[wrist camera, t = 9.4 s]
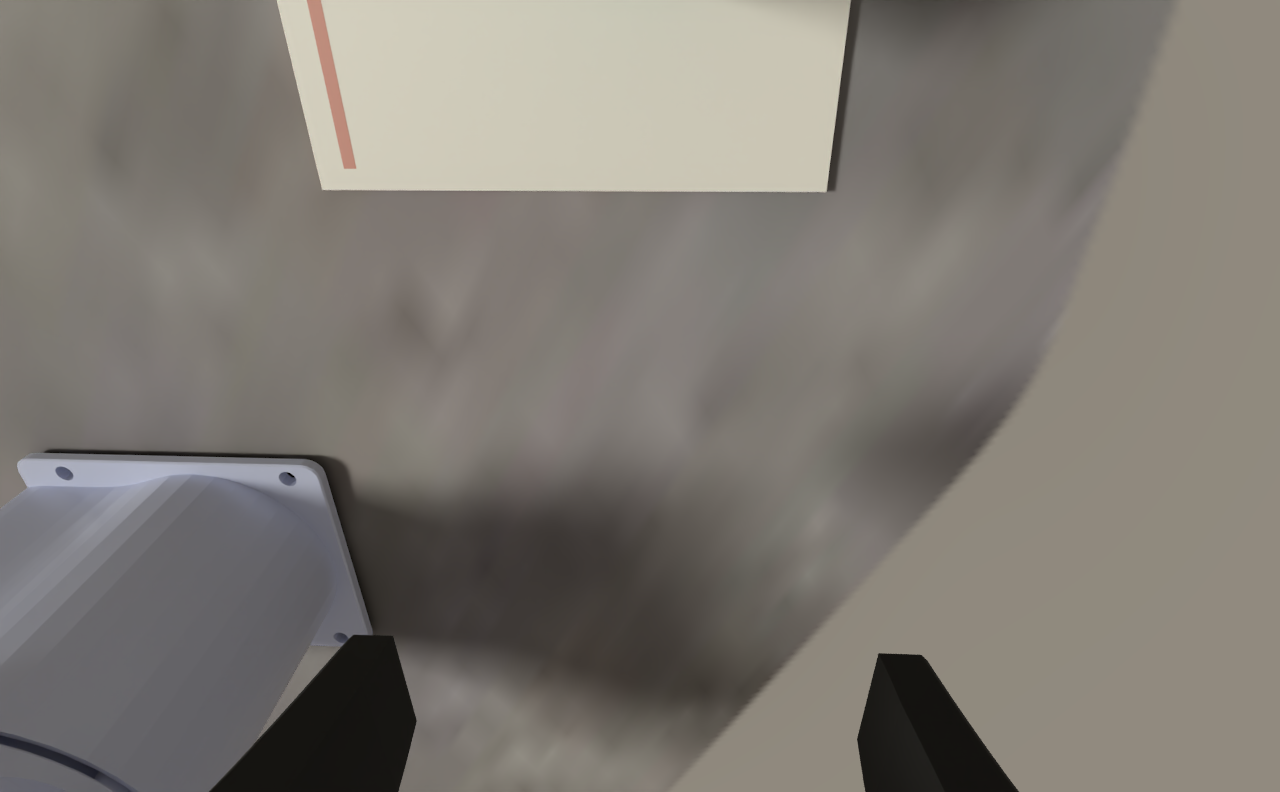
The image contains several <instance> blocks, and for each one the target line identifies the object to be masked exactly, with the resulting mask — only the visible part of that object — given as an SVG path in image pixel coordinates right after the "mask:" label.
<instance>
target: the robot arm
mask: <svg viewBox="0 0 1280 792" xmlns="http://www.w3.org/2000/svg"><path fill="white" fill-rule="evenodd" d="M17 468H18V471H19V473H20V475H21V477H22V478H23V480H24V482H25V484H26V485H27V487H28V488H26V489H25V490H24V491H22V492H21V493H20V494H19V495H17V496H16V497H15V498H13V499H12V500H11V501H9V502H8V503H7V504H5V505H4V506H3V507H2V508H0V792H398V791H399V787H400V783H401V780H402V776H403V772H404V769H405V765H406V761H407V757H408V753H409V749H410V745H411V741H412V737H413V733H414V729H415V725H416V721H417V720H416V717H415V713H414V710H413V706H412V703H411V699H410V695H409V692H408V688H407V685H406V681H405V677H404V674H403V670H402V667H401V663H400V660H399V656H398V652H397V649H396V645H395V642H394V638H393V636H378V635H373V631H372V627H371V624H370V621H369V617H368V614H367V611H366V607H365V604H364V601H363V597H362V594H361V590H360V587H359V584H358V580H357V577H356V574H355V570H354V567H353V564H352V560H351V557H350V554H349V550H348V547H347V544H346V540H345V537H344V534H343V530H342V527H341V524H340V520H339V517H338V514H337V510H336V507H335V504H334V500H333V497H332V494H331V490H330V487H329V484H328V480H327V477H326V474H325V471H324V470H323V468H322V467H321V466H320V465H319V464H318V463H316V462H314V461H312V460H307V459H279V458H236V457H194V456H151V455H108V454H65V453H30V454H28V455H27V456H25V457H24V458H23V459H21V460H20V461H19V462H18V465H17ZM286 472H288V473H291V474H292V475H294V476H295V478H293V477H291V476H289V475H288V474H287V473H286ZM310 645H316V646H342V647H341V648H340V649H339V650H338V651H337V652H336V653H335V655H334V656H333V657H332V658H331V659H330V660H329V661H328V663H327V664H326V665H325V666H324V667H323V668H322V669H321V670H320V672H319V673H318V674H317V675H316V676H315V677H314V678H313V680H312V681H311V682H310V683H309V684H308V685H307V686H306V687H305V689H304V690H303V691H302V692H301V693H300V694H299V695H298V696H297V698H296V699H295V700H294V701H293V702H292V703H291V704H290V705H289V706H288V708H287V709H286V710H285V711H284V712H283V713H282V714H281V715H280V716H279V718H278V719H277V720H276V721H275V722H274V723H273V724H272V725H271V726H270V727H269V728H268V730H267V731H266V732H265V733H264V734H263V735H262V736H261V737H260V738H259V739H258V740H257V738H258V736H259V734H260V733H261V731H262V729H263V727H264V725H265V724H266V722H267V720H268V718H269V717H270V715H271V713H272V711H273V709H274V708H275V706H276V704H277V702H278V701H279V699H280V697H281V695H282V694H283V692H284V690H285V688H286V686H287V685H288V683H289V681H290V679H291V678H292V676H293V674H294V672H295V670H296V669H297V667H298V665H299V663H300V662H301V660H302V658H303V656H304V654H305V653H306V651H307V649H308V647H309V646H310ZM256 740H257V741H256ZM255 741H256V742H255ZM857 741H858V748H859V754H860V761H861V767H862V773H863V780H864V786H865V791H866V792H1019V791H1018V790H1017V789H1016V787H1015V786H1014V785H1013V783H1012V782H1011V781H1010V779H1009V778H1008V777H1007V775H1006V774H1005V773H1004V771H1003V770H1002V769H1001V767H1000V766H999V764H998V763H997V762H996V760H995V759H994V758H993V756H992V755H991V753H990V752H989V751H988V749H987V748H986V746H985V745H984V744H983V742H982V741H981V739H980V738H979V736H978V735H977V733H976V732H975V731H974V729H973V728H972V726H971V725H970V724H969V722H968V721H967V719H966V718H965V716H964V715H963V713H962V712H961V711H960V709H959V708H958V706H957V705H956V703H955V702H954V700H953V699H952V697H951V696H950V694H949V693H948V691H947V690H946V688H945V687H944V685H943V684H942V682H941V681H940V679H939V678H938V676H937V675H936V673H935V672H934V670H933V669H932V667H931V666H930V664H929V663H928V661H927V660H926V659H925V658H924V657H923V656H922V655H909V654H880V653H879V654H878V658H877V662H876V666H875V670H874V674H873V678H872V682H871V686H870V690H869V694H868V698H867V702H866V706H865V710H864V714H863V718H862V722H861V726H860V730H859V734H858V738H857Z"/></svg>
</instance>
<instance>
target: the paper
mask: <svg viewBox="0 0 1280 792" xmlns="http://www.w3.org/2000/svg"><path fill="white" fill-rule="evenodd" d="M277 3H278V7H279V11H280V16H281V20H282V24H283V28H284V32H285V36H286V41H287V45H288V49H289V53H290V57H291V61H292V66H293V70H294V74H295V78H296V82H297V87H298V91H299V95H300V99H301V103H302V107H303V112H304V116H305V120H306V124H307V128H308V132H309V137H310V141H311V145H312V149H313V153H314V157H315V162H316V166H317V170H318V174H319V178H320V182H321V187H322V190H457V191H692V192H826V191H827V183H828V175H829V167H830V160H831V152H832V144H833V136H834V128H835V120H836V113H837V105H838V97H839V89H840V81H841V73H842V66H843V58H844V50H845V42H846V34H847V26H848V19H849V11H850V3H851V0H277Z"/></svg>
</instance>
